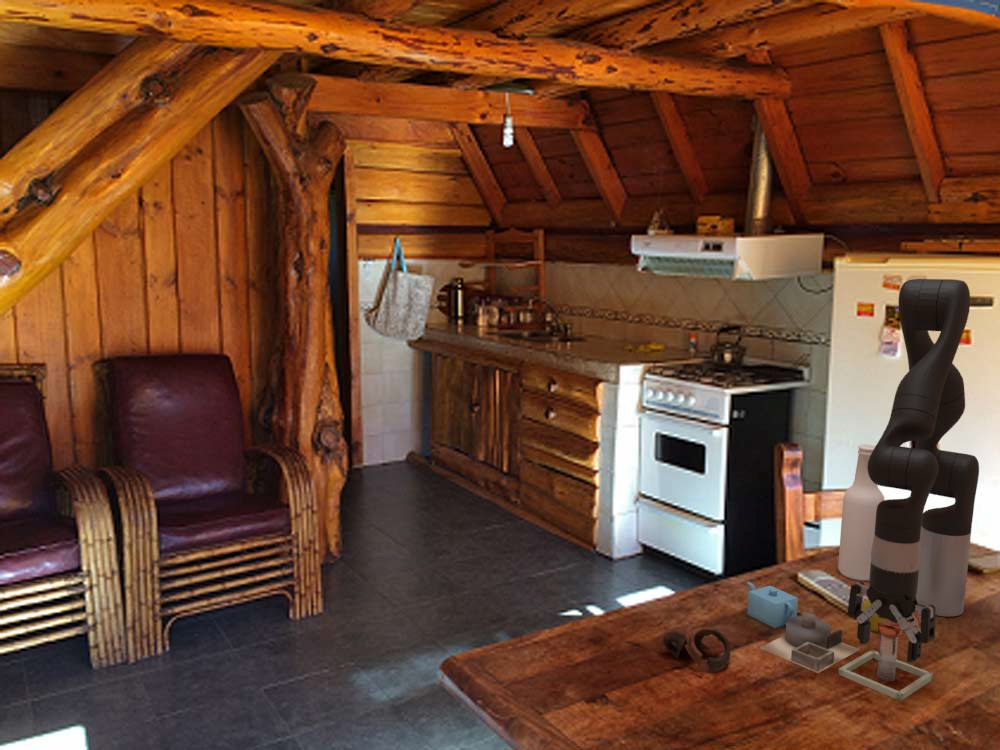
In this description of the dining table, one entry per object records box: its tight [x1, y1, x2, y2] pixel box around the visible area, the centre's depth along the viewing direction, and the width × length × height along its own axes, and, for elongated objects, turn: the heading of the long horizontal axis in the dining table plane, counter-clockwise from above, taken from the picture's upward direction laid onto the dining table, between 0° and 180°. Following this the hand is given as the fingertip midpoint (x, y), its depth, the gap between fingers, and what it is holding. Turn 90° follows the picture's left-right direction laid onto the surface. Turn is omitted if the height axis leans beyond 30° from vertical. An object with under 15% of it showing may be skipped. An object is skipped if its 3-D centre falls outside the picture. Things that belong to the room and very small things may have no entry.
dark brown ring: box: [662, 626, 731, 679], centre depth 161 cm, size 12×10×8 cm
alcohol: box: [837, 443, 885, 582], centre depth 201 cm, size 9×9×30 cm
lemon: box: [861, 598, 890, 634], centre depth 173 cm, size 6×6×8 cm
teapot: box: [746, 581, 799, 629], centre depth 178 cm, size 12×6×8 cm, turn 31°
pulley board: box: [759, 612, 861, 674], centre depth 165 cm, size 14×12×6 cm
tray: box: [837, 649, 935, 702], centre depth 155 cm, size 11×11×2 cm
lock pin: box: [876, 620, 903, 682], centre depth 154 cm, size 4×4×10 cm
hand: (887, 651), depth 154 cm, fingers open, 8 cm apart
